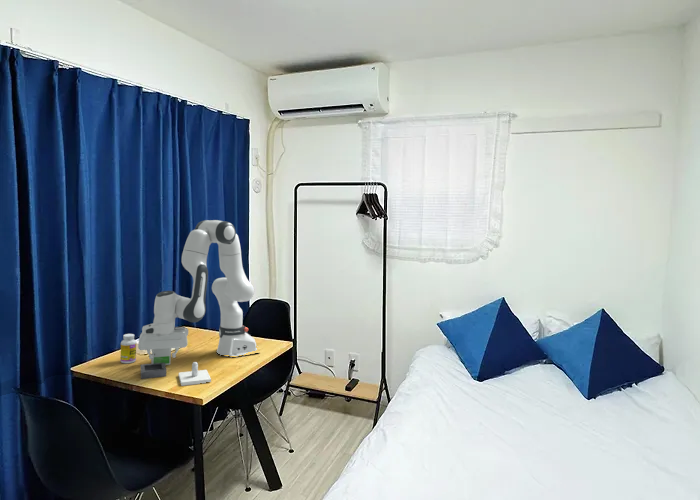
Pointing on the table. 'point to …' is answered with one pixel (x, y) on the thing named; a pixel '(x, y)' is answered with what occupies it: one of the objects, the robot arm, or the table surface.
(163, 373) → the gray square tray
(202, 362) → the table surface
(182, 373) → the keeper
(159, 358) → the skincare box
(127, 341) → the supplement bottle
